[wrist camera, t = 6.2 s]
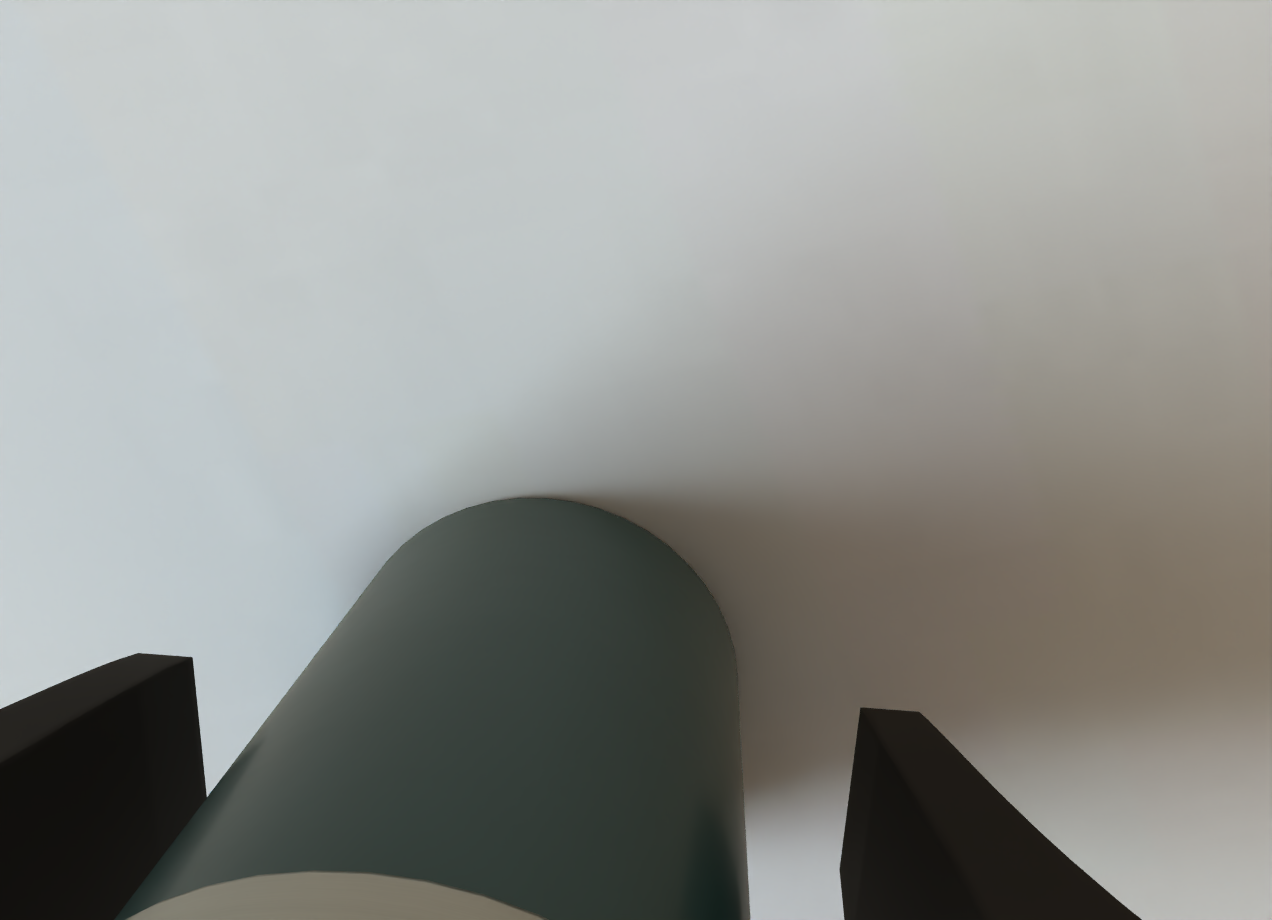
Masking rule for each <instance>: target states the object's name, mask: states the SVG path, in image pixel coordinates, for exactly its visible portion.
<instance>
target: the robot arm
mask: <svg viewBox="0 0 1272 920" xmlns="http://www.w3.org/2000/svg"><path fill="white" fill-rule="evenodd" d="M206 798H207V795H206V785H205V776H204V766H203V756H202V746H201V736H200V726H199V717H198V707H197V697H196V687H195V677H194V668H193V658H192V657H182V656H169V655H156V654H142V653H137V654H134V655H131V656H128V657H125V658H122V659H119V660H116V661H113V662H110V663H108V664H105V665H102V666H100V667H97V668H95V669H92V670H90V671H87V672H85V673H83V674H80V675H78V676H75V677H73V678H71V679H68V680H66V681H64V682H61V683H59V684H57V685H54V686H52V687H50V688H47V689H45V690H43V691H41V692H38V693H36V694H34V695H31V696H29V697H27V698H25V699H22V700H20V701H18V702H15V703H13V704H11V705H9V706H6V707H4V708H2V709H0V920H114V919H115V918H116V917H117V915H118V914H119V913H120V911H121V910H122V909H123V907H124V906H125V905H126V903H127V902H128V901H129V900H130V898H131V897H132V896H133V894H134V893H135V892H136V890H137V889H138V888H139V886H140V885H141V884H142V882H143V881H144V880H145V878H146V877H147V876H148V875H149V873H150V872H151V871H152V869H153V868H154V867H155V865H156V864H157V863H158V861H159V860H160V859H161V857H162V856H163V855H164V854H165V852H166V851H167V850H168V848H169V847H170V846H171V844H172V843H173V842H174V840H175V839H176V838H177V836H178V835H179V834H180V833H181V831H182V830H183V829H184V827H185V826H186V825H187V823H188V822H189V821H190V819H191V818H192V817H193V815H194V814H195V813H196V811H197V810H198V809H199V808H200V806H201V805H202V804H203V802H204V801H205V800H206ZM840 878H841V888H842V898H843V909H844V919H845V920H1142V919H1140V918H1139V917H1138V916H1137V915H1135V914H1134V913H1133V912H1132V911H1130V910H1129V909H1128V908H1127V907H1125V906H1124V905H1123V904H1122V903H1120V902H1119V901H1118V900H1117V899H1116V898H1115V897H1113V896H1112V895H1111V894H1110V893H1109V892H1108V891H1106V890H1105V889H1104V888H1103V887H1102V886H1101V885H1099V884H1098V883H1097V882H1096V881H1095V880H1094V879H1092V878H1091V877H1090V876H1089V875H1088V874H1087V873H1085V872H1084V871H1083V870H1082V869H1081V868H1080V867H1078V866H1077V865H1076V864H1075V863H1074V862H1073V861H1071V860H1070V859H1069V858H1068V857H1067V856H1066V855H1065V854H1064V853H1063V852H1061V851H1060V850H1059V849H1058V848H1057V847H1056V846H1055V845H1054V844H1053V843H1052V842H1050V841H1049V840H1048V839H1047V838H1046V837H1045V836H1044V835H1043V834H1042V833H1041V832H1040V831H1039V830H1038V829H1036V828H1035V827H1034V826H1033V825H1032V824H1031V823H1030V822H1029V821H1028V820H1027V819H1026V818H1025V817H1024V816H1023V815H1022V814H1021V813H1020V812H1019V811H1018V810H1017V809H1016V808H1015V807H1014V806H1012V805H1011V804H1010V803H1009V802H1008V801H1007V800H1006V799H1005V798H1004V797H1003V796H1002V795H1001V794H1000V793H999V792H998V791H997V790H996V789H995V788H994V787H993V786H992V785H991V784H990V783H989V782H988V781H987V780H986V779H985V778H984V777H983V776H982V775H981V774H980V773H979V772H978V771H977V770H976V768H975V767H974V766H973V765H972V764H971V763H970V762H969V761H968V760H967V759H966V758H965V757H964V756H963V755H962V754H961V753H960V752H959V751H958V750H957V749H956V748H955V747H954V746H953V745H952V744H951V743H950V742H949V741H948V740H947V739H946V738H945V737H944V736H943V735H942V734H941V733H940V731H939V730H938V729H937V728H936V727H935V726H934V725H933V724H932V723H931V722H930V721H929V720H928V719H926V718H925V717H924V716H923V715H922V714H921V713H920V712H914V711H901V710H888V709H874V708H860V715H859V723H858V731H857V739H856V746H855V754H854V762H853V770H852V778H851V785H850V793H849V801H848V809H847V816H846V824H845V832H844V840H843V848H842V855H841V863H840Z"/></svg>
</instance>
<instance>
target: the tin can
mask: <svg viewBox="0 0 1272 920" xmlns="http://www.w3.org/2000/svg"><path fill="white" fill-rule="evenodd" d="M114 920H750V904H749V885H748V867H747V848H746V829H745V810H744V792H743V773H742V754H741V735H740V717H739V698H738V679H737V668H736V661H735V653H734V648H733V645H732V641H731V638H730V634H729V631H728V627H727V625H726V623H725V620H724V618H723V616H722V614H721V612H720V609H719V607H718V605H717V603H716V602H715V600H714V598H713V597H712V595H711V594H710V592H709V590H708V589H707V587H706V586H705V584H704V583H703V582H702V580H701V579H700V578H699V577H698V576H697V574H696V573H695V572H694V571H693V570H692V568H691V567H690V566H689V565H688V564H687V563H686V562H685V561H684V560H683V559H682V558H681V557H680V556H679V555H678V554H676V553H675V552H674V551H673V550H672V549H671V548H670V547H669V546H668V545H666V544H665V543H663V542H662V541H661V540H659V539H658V538H656V537H655V536H654V535H652V534H651V533H649V532H648V531H646V530H644V529H643V528H641V527H639V526H637V525H635V524H633V523H631V522H630V521H628V520H626V519H624V518H622V517H619V516H617V515H614V514H611V513H609V512H606V511H604V510H601V509H599V508H595V507H591V506H587V505H583V504H579V503H575V502H570V501H562V500H555V499H547V498H517V499H509V500H500V501H492V502H489V503H485V504H481V505H477V506H473V507H469V508H466V509H463V510H461V511H458V512H456V513H454V514H451V515H449V516H446V517H444V518H442V519H440V520H438V521H437V522H435V523H433V524H431V525H430V526H428V527H426V528H424V529H423V530H421V531H420V532H419V533H417V534H416V535H415V536H414V537H412V538H411V539H410V540H408V541H407V542H406V543H405V544H403V545H402V546H401V547H400V548H399V549H398V550H397V551H396V552H395V554H394V555H393V556H392V557H391V558H390V559H389V560H388V561H387V562H386V563H385V565H384V566H383V567H382V568H381V570H380V571H379V572H378V574H377V575H376V576H375V578H374V579H373V580H372V582H371V583H370V584H369V586H368V587H367V588H366V589H365V591H364V592H363V593H362V595H361V596H360V597H359V599H358V600H357V601H356V603H355V604H354V605H353V607H352V608H351V609H350V611H349V612H348V613H347V614H346V616H345V617H344V618H343V620H342V621H341V622H340V624H339V625H338V626H337V628H336V629H335V630H334V632H333V633H332V634H331V635H330V637H329V638H328V639H327V641H326V642H325V643H324V645H323V646H322V647H321V649H320V650H319V651H318V653H317V654H316V655H315V656H314V658H313V659H312V660H311V662H310V663H309V664H308V666H307V667H306V668H305V670H304V671H303V672H302V674H301V675H300V676H299V677H298V679H297V680H296V681H295V683H294V684H293V685H292V687H291V688H290V689H289V691H288V692H287V693H286V695H285V696H284V697H283V699H282V700H281V701H280V702H279V704H278V705H277V706H276V708H275V709H274V710H273V712H272V713H271V714H270V716H269V717H268V718H267V720H266V721H265V722H264V723H263V725H262V726H261V727H260V729H259V730H258V731H257V733H256V734H255V735H254V737H253V738H252V739H251V741H250V742H249V743H248V744H247V746H246V747H245V748H244V750H243V751H242V752H241V754H240V755H239V756H238V758H237V759H236V760H235V762H234V763H233V764H232V766H231V767H230V768H229V769H228V771H227V772H226V773H225V775H224V776H223V777H222V779H221V780H220V781H219V783H218V784H217V785H216V787H215V788H214V789H213V790H212V792H211V793H210V794H209V796H208V797H207V798H206V800H205V801H204V802H203V804H202V805H201V806H200V808H199V809H198V810H197V811H196V813H195V814H194V815H193V817H192V818H191V819H190V821H189V822H188V823H187V825H186V826H185V827H184V829H183V830H182V831H181V833H180V834H179V835H178V836H177V838H176V839H175V840H174V842H173V843H172V844H171V846H170V847H169V848H168V850H167V851H166V852H165V854H164V855H163V856H162V857H161V859H160V860H159V861H158V863H157V864H156V865H155V867H154V868H153V869H152V871H151V872H150V873H149V875H148V876H147V877H146V878H145V880H144V881H143V882H142V884H141V885H140V886H139V888H138V889H137V890H136V892H135V893H134V894H133V896H132V897H131V898H130V900H129V901H128V902H127V903H126V905H125V906H124V907H123V909H122V910H121V911H120V913H119V914H118V915H117V917H116V918H115V919H114Z"/></svg>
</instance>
